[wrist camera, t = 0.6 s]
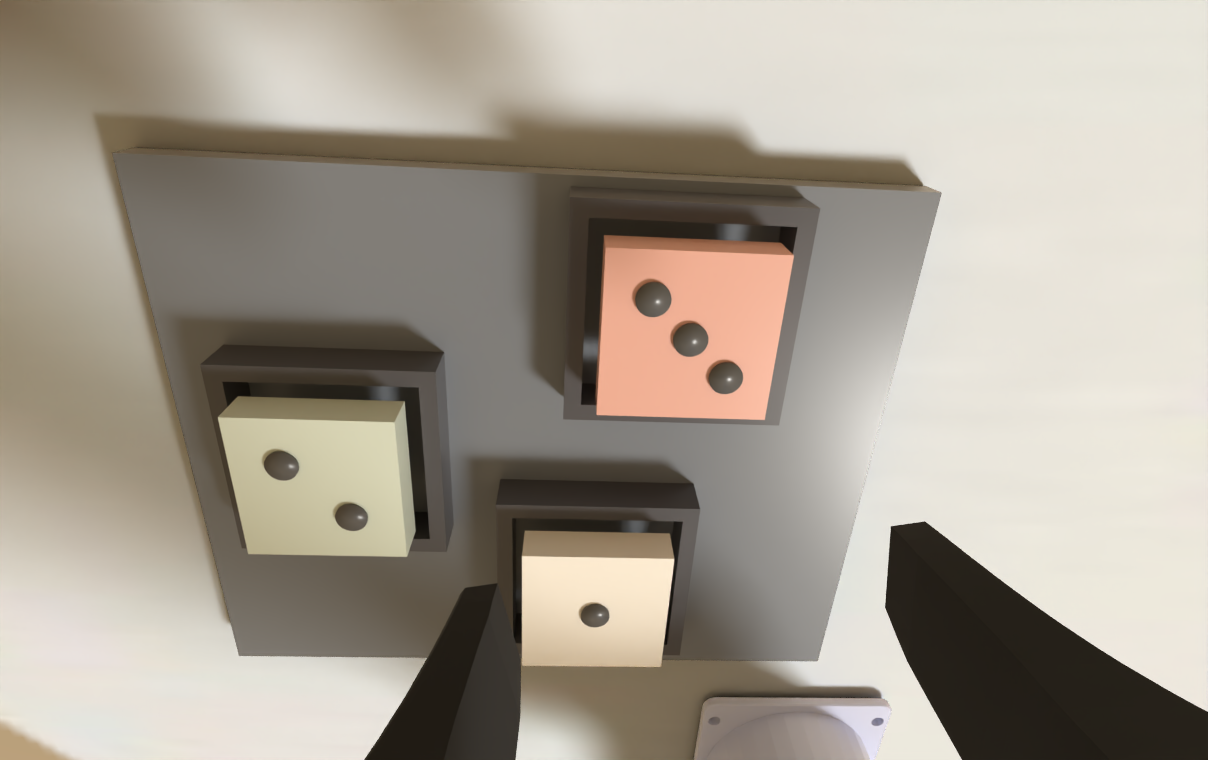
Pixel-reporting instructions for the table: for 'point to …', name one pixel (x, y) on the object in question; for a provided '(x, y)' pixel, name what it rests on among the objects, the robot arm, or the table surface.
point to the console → (521, 380)
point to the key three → (689, 326)
